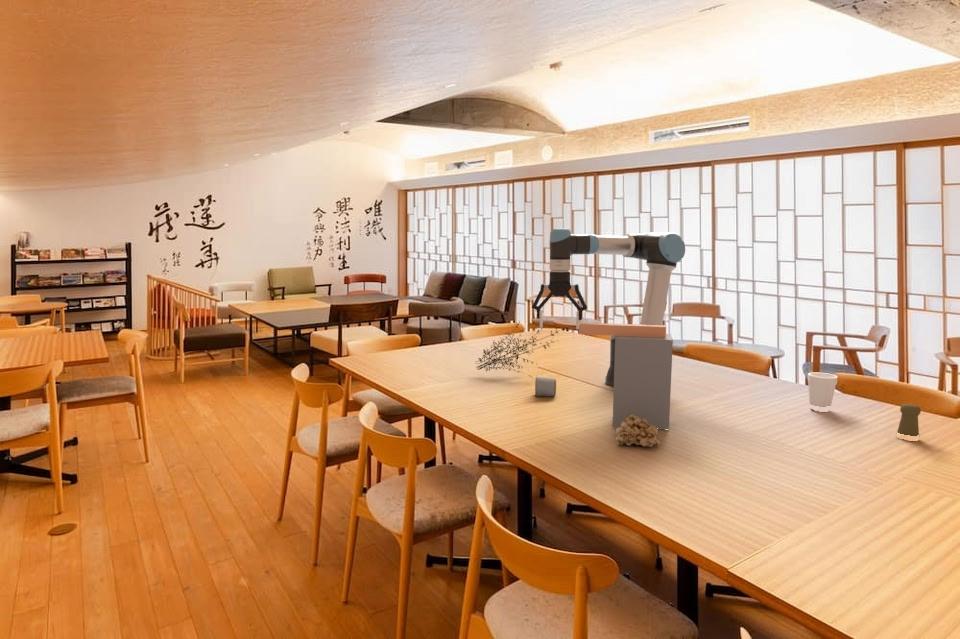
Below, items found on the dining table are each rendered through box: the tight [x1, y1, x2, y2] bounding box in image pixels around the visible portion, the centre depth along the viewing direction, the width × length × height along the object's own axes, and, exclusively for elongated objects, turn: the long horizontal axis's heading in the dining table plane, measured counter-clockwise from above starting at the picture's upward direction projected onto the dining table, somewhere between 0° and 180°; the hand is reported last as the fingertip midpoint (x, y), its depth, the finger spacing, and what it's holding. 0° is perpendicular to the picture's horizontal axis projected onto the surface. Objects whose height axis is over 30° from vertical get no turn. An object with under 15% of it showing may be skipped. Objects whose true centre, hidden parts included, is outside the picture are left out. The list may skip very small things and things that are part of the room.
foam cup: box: [807, 371, 838, 407], centre depth 221 cm, size 10×9×13 cm
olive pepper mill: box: [896, 403, 922, 436], centre depth 191 cm, size 6×6×11 cm
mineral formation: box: [615, 414, 661, 448], centre depth 188 cm, size 8×13×15 cm
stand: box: [612, 333, 674, 430], centre depth 205 cm, size 18×12×30 cm, turn 76°
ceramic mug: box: [534, 376, 557, 397], centre depth 243 cm, size 11×8×8 cm
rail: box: [578, 322, 667, 338], centre depth 205 cm, size 28×4×4 cm, turn 76°
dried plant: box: [475, 317, 568, 379], centre depth 271 cm, size 30×31×45 cm
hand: (559, 328), depth 227 cm, fingers open, 13 cm apart
